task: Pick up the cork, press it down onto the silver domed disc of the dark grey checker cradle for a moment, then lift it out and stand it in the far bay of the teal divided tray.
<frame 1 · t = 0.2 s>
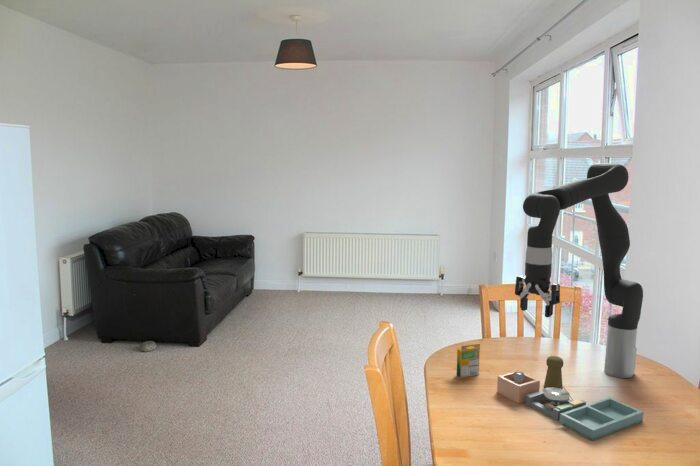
hand: (535, 313, 169), 28 cm above the table, fingers open, 8 cm apart
silver domed disc: (555, 398, 166), point 3 cm above the table, slide at -0.2 cm
crayon box: (467, 376, 191), on the table
teal divided tray: (601, 422, 159), on the table
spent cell: (517, 394, 176), point 1 cm above the table, touching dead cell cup
checker cradle: (555, 409, 167), on the table
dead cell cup: (517, 396, 176), on the table
cork: (553, 390, 181), on the table
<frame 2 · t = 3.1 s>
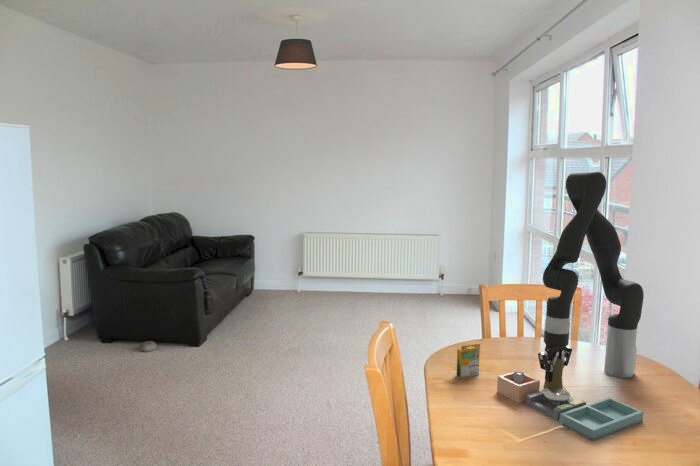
hand: (553, 380, 180), 3 cm above the table, fingers closed on cork, 4 cm apart
cork: (553, 389, 181), on the table, touching gripper
everything else where it was.
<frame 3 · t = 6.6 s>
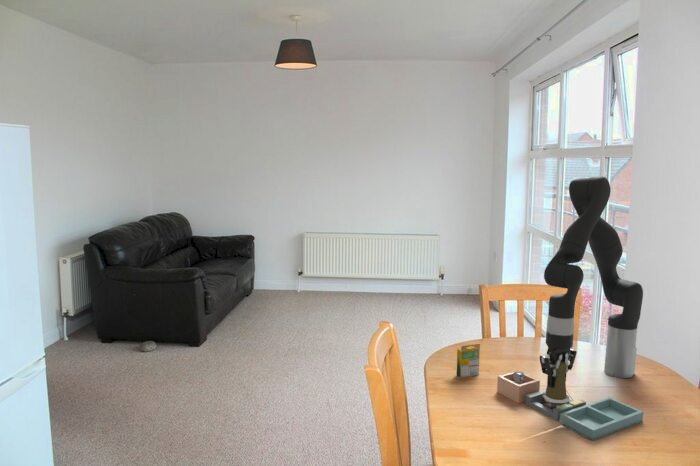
hand: (556, 385, 166), 8 cm above the table, fingers closed on cork, 4 cm apart
silver domed disc: (555, 401, 167), point 2 cm above the table, slide at -1.2 cm, touching cork
cork: (555, 396, 167), point 4 cm above the table, touching gripper, silver domed disc
everything else where it was.
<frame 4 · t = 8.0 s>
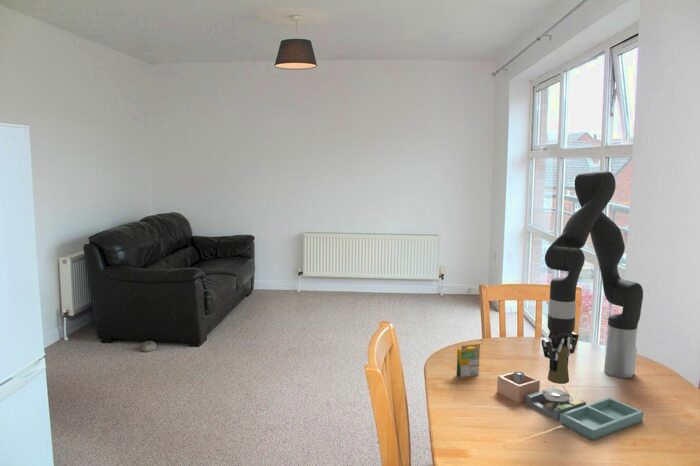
hand: (558, 369, 165), 13 cm above the table, fingers closed on cork, 4 cm apart
silver domed disc: (555, 399, 166), point 3 cm above the table, slide at -0.6 cm
cork: (558, 380, 166), point 9 cm above the table, touching gripper
everything else where it was.
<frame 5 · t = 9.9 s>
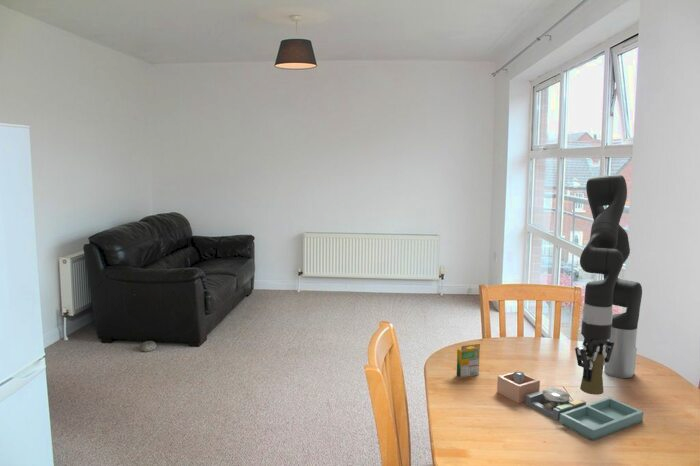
hand: (592, 379, 154), 14 cm above the table, fingers closed on cork, 4 cm apart
cork: (591, 390, 155), point 11 cm above the table, touching gripper
everything else where it was.
when the fingers open (5 cm above the table, at t = 11.6 s): cork moves 1 cm, resting on teal divided tray.
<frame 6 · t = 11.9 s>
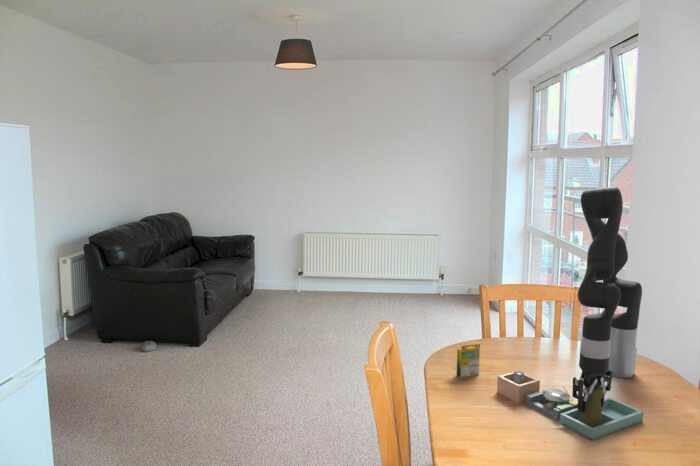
hand: (590, 409, 156), 5 cm above the table, fingers open, 7 cm apart
cork: (590, 423, 157), resting on teal divided tray
everything else where it was.
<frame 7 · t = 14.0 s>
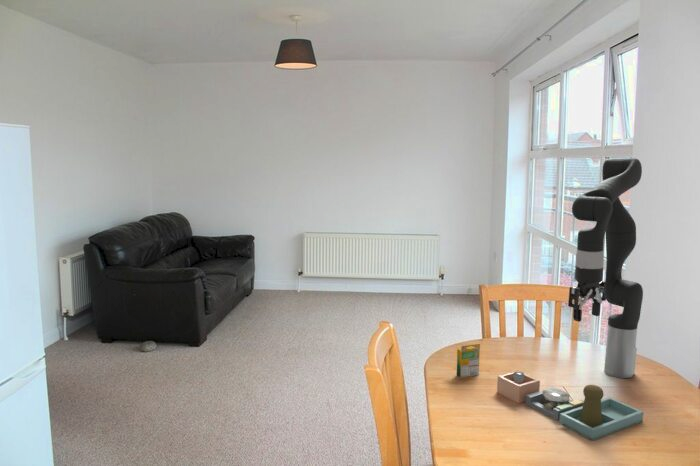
hand: (586, 318, 165), 28 cm above the table, fingers open, 8 cm apart
nothing on the table moved.
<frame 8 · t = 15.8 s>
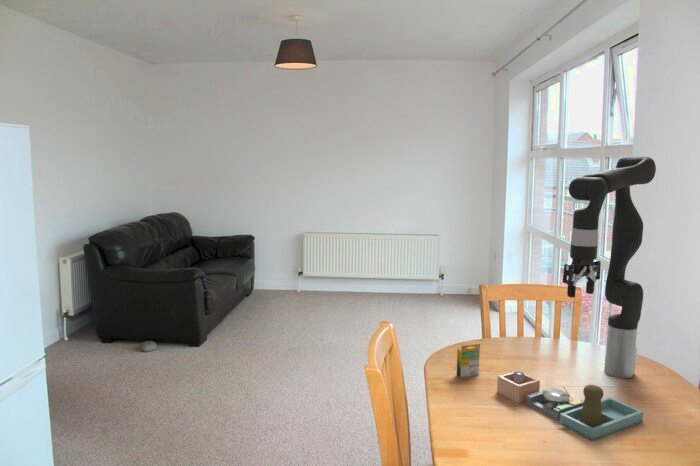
hand: (580, 295, 170), 33 cm above the table, fingers open, 8 cm apart
nothing on the table moved.
at the end: cork inside the target area on the teal divided tray (1.4 cm from its centre), point 0.4 cm above the teal divided tray's base; cork tilted 0°; the gripper is holding nothing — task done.
